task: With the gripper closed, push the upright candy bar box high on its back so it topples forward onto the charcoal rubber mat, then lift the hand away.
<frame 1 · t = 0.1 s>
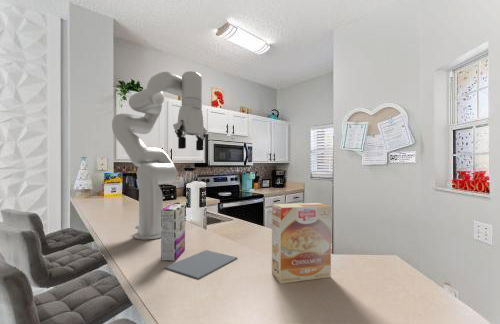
hand: (191, 149, 96), 37 cm above the counter, tool pointing down, fingers open, 9 cm apart
candy bar box: (173, 255, 84), on the counter
mat: (202, 263, 77), on the counter
coffeecake box: (300, 276, 69), on the counter
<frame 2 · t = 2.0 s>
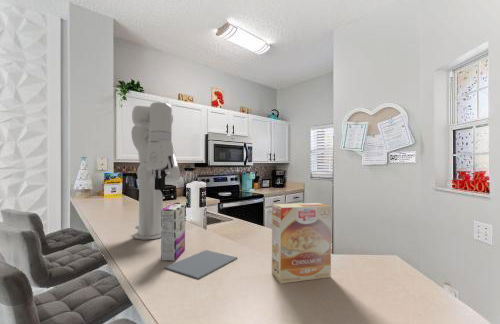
hand: (159, 189, 88), 22 cm above the counter, tool pointing down, fingers closed
nothing on the counter moved.
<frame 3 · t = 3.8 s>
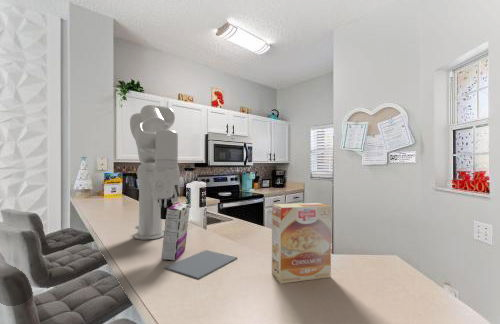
hand: (165, 218, 86), 12 cm above the counter, tool pointing down, fingers closed
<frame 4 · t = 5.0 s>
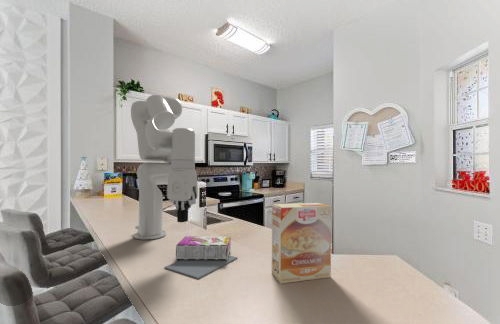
hand: (182, 221, 82), 12 cm above the counter, tool pointing down, fingers closed
candy bar box: (179, 246, 84), point 3 cm above the counter, touching mat
everything else where it was.
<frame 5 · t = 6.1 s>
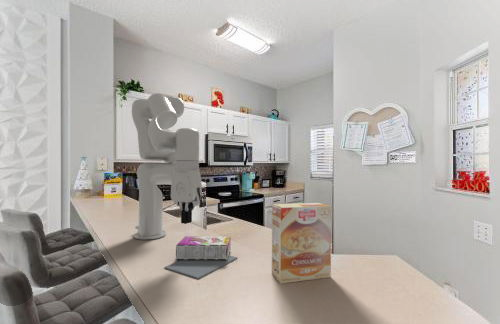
hand: (186, 222, 81), 12 cm above the counter, tool pointing down, fingers closed
nothing on the counter moved.
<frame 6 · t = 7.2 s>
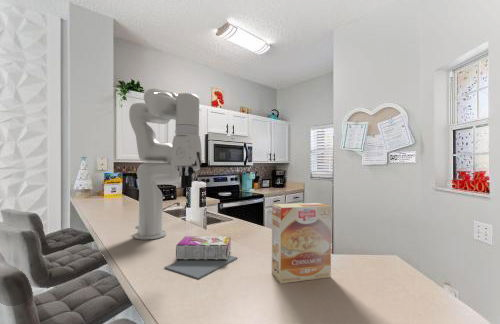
hand: (186, 187, 82), 23 cm above the counter, tool pointing down, fingers closed
nothing on the counter moved.
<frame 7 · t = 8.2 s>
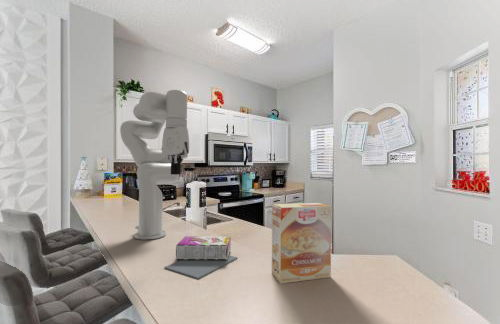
hand: (175, 174, 92), 27 cm above the counter, tool pointing down, fingers closed
nothing on the counter moved.
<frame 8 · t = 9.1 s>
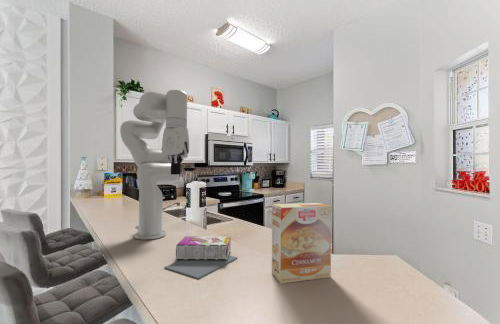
hand: (175, 174, 92), 27 cm above the counter, tool pointing down, fingers closed
nothing on the counter moved.
at the end: candy bar box tilted 90°; candy bar box touching mat; candy bar box inside the target area (3.7 cm from its centre), point 2.9 cm above the counter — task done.
